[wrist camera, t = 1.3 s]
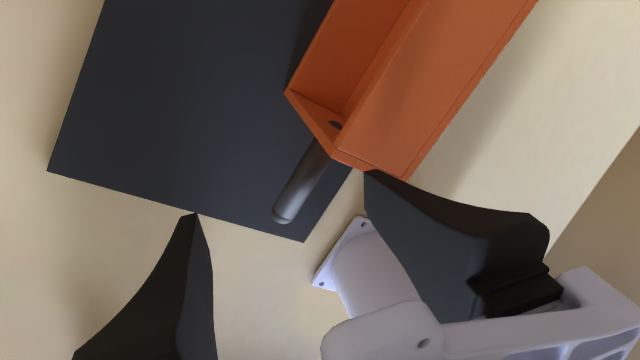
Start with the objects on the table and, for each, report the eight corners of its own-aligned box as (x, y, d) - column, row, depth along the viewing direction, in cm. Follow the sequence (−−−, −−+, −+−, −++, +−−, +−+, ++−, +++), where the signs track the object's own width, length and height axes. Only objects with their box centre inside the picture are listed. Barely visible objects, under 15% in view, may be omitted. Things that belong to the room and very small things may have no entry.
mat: (469, -15, 24) (473, -15, 23) (302, 240, 30) (303, 243, 30) (202, -279, 15) (202, -285, 14) (48, 168, 21) (46, 171, 21)
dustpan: (429, -26, 22) (551, -17, 15) (293, 194, 27) (334, 281, 20) (375, -76, 20) (488, -94, 12) (238, 174, 25) (262, 265, 18)
